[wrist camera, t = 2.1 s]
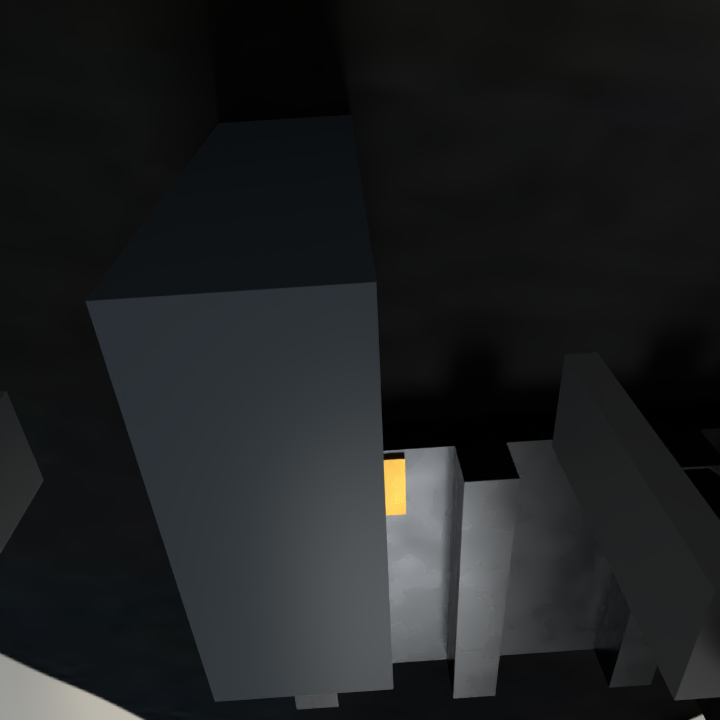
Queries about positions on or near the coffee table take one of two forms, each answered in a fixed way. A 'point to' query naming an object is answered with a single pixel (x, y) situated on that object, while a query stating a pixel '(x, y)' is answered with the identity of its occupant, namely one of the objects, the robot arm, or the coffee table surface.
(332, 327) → the gray rectangular block
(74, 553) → the coffee table surface
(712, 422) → the rack
